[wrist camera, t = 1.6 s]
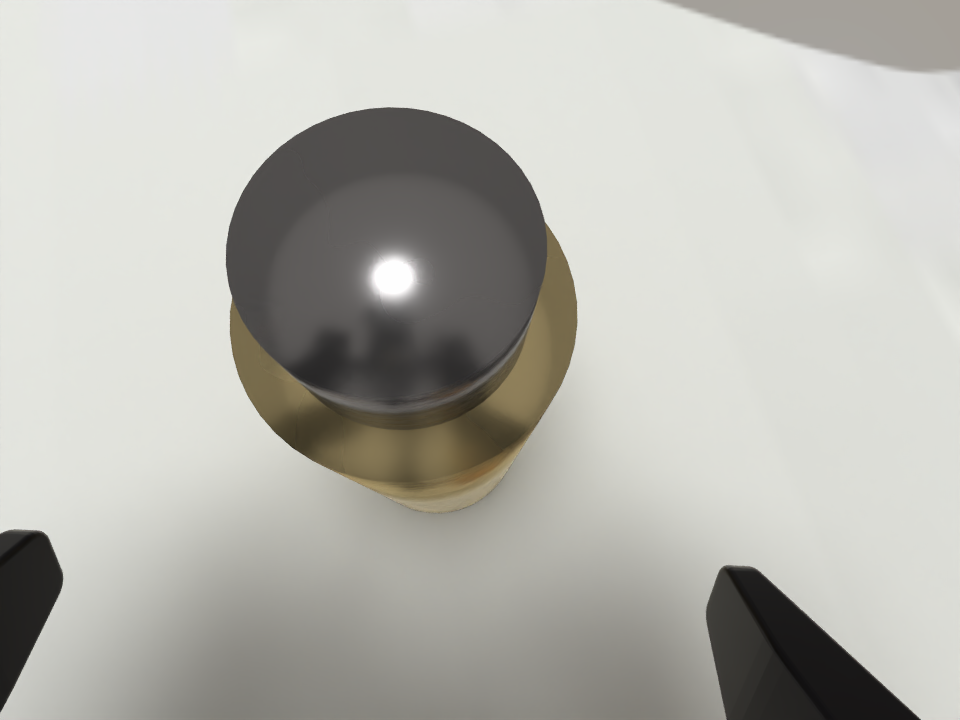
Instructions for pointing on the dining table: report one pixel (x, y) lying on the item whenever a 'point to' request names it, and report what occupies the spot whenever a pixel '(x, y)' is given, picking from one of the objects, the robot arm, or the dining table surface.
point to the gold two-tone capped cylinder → (399, 304)
